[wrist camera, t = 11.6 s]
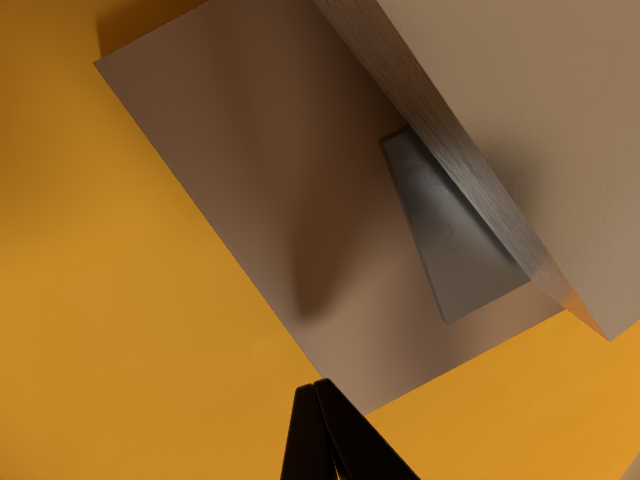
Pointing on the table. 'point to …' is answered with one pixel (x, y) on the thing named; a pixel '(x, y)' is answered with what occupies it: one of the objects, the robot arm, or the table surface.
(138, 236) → the table surface
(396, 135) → the plate
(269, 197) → the door board
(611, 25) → the latch bar
